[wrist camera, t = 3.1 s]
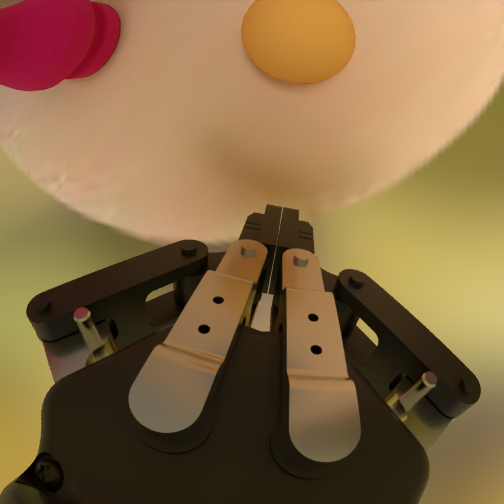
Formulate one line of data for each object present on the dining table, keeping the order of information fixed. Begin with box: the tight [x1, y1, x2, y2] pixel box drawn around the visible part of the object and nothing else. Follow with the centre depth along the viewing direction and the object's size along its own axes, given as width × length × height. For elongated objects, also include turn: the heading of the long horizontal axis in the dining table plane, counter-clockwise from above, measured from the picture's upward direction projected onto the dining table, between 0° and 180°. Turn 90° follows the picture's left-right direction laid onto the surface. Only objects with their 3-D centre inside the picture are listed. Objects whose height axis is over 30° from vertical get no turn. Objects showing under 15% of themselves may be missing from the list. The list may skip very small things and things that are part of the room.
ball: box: [242, 0, 356, 84], centre depth 10 cm, size 6×6×6 cm
